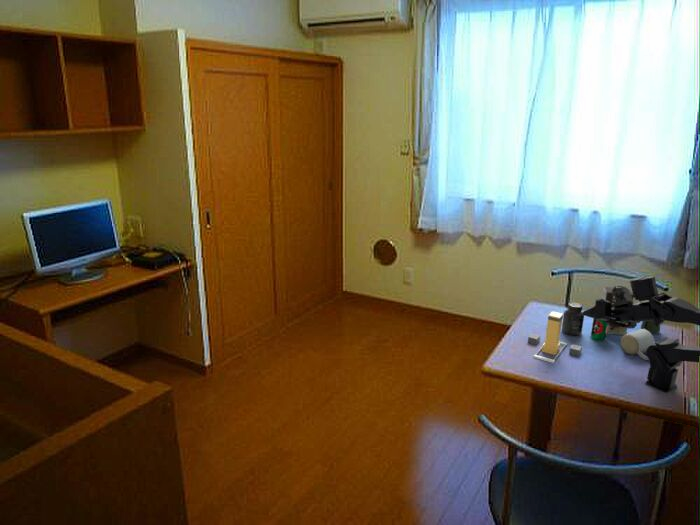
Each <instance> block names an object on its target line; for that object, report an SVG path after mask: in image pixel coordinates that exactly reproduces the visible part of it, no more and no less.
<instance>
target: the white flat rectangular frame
mask: <svg viewBox="0 0 700 525" xmlns="http://www.w3.org/2000/svg"><path fill="white" fill-rule="evenodd" d="M540 340H541V335H539V334H536V333H530V335H529V336H528V338H527V343H529V344H533V345H538V343H540ZM559 343H560V346H561V345H562V347H561V348H560V349H559V351H558V353H557V354H556V355H554V358H553V359H551V358H549V357H545V356H541V355H539V353H541V352H542V348H543V344H542V345H541V347H539V348H538V350H536V352H535V354H533V358H534V359H537V360H541V361H545V362H549V363H551V364H554V363H555V362H557V360H558V358H559V356H561V354H562V353H563V351H564V350H565V348H566V347H567V345H568V343H567V342H565V341H560V340H559ZM582 349H583V346H581V345H577V344H571V346H570V347H569V353H568V354H569V355H572V356H577V357H579V356H580V354H581V353H582Z"/></svg>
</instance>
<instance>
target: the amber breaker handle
mask: <svg viewBox="0 0 700 525" xmlns="http://www.w3.org/2000/svg"><path fill="white" fill-rule="evenodd" d="M563 315H564V313H562V312H557V311H553V310H552V311H551V312H550V313H549V314H548V317H547V325H546V332H545V338H544V339H545V340H544V343H543V344H542V345H543V348H542V350H541V352H543V353H545V354H549V355H553V356H556V355H557V354H558V352H559V351H560V349H561V348H560V347H561V345H560V343H559V341H560V338H561V337H560V336H561V332H562V323H563Z"/></svg>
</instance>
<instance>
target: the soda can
mask: <svg viewBox="0 0 700 525" xmlns="http://www.w3.org/2000/svg"><path fill="white" fill-rule="evenodd" d="M608 325H609V323H607V322H604V321H600V320H598V319H594V318H592V325H591V332H590V338H591V339H592V340H595V341H597V342H604V341H607V335H608V334H607V331H608Z"/></svg>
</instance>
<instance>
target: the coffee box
mask: <svg viewBox="0 0 700 525" xmlns="http://www.w3.org/2000/svg"><path fill="white" fill-rule="evenodd" d="M612 289H614V287H611V286H610V287H609V286H603V290H602V295H601V296H602V297H601V299H605V300H608V301H609V302H610V303H611V309H612V310H614V307H615V306H614V302H617V301H616V299H615V297H614V295H613V293H612ZM628 290H629V292H630V294H631V296H632V299H633V300H634V299H635V298H634V296H633V292H632V290H631V289H630V288H628ZM626 325H628V323H627V324H626ZM627 332H628V328H623V327H620V326H617V325H614V324H610V323H609V325H608V331H607V335H617V336H624V335H626V334H628V333H627Z"/></svg>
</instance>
